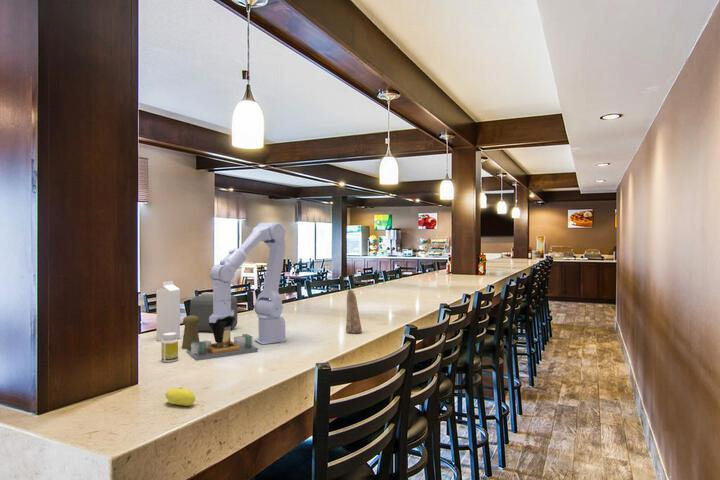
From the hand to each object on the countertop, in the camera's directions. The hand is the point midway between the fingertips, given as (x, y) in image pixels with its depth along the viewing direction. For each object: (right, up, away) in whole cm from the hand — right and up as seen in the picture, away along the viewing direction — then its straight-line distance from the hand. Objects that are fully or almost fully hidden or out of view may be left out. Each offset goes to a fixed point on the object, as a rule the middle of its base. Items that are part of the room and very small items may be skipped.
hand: (222, 340), depth 155 cm
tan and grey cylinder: (0, -2, 0) cm, 2 cm away
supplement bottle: (-13, -4, -11) cm, 18 cm away
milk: (-26, -4, +20) cm, 33 cm away
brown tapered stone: (+44, -4, +31) cm, 54 cm away
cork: (-13, -4, +7) cm, 15 cm away
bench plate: (0, -4, 0) cm, 4 cm away
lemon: (+5, -4, -49) cm, 50 cm away
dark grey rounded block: (-15, -4, +37) cm, 40 cm away
